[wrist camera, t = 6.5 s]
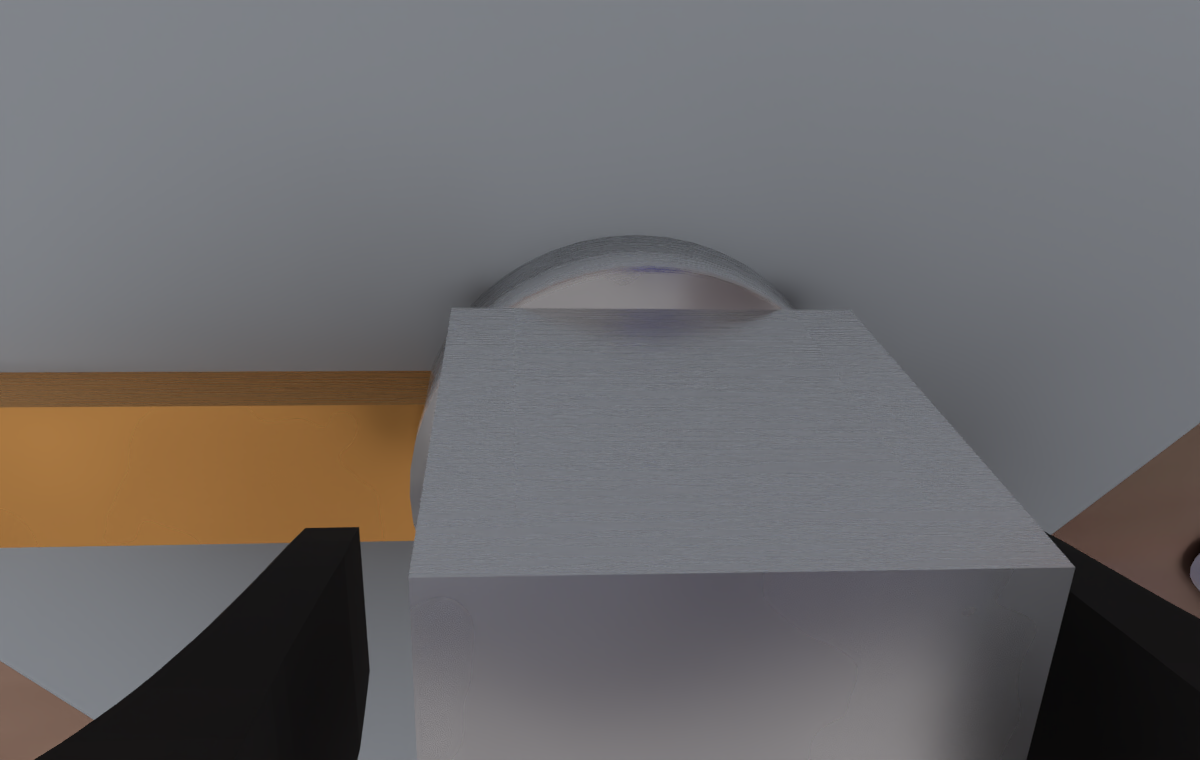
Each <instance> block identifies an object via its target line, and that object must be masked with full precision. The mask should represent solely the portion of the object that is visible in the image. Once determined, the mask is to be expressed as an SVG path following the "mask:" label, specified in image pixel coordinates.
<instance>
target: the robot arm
mask: <svg viewBox="0 0 1200 760" xmlns="http://www.w3.org/2000/svg"><path fill="white" fill-rule="evenodd" d="M1044 532H1045V531H1044ZM1045 533H1046V534H1047V535H1048V537H1049V538H1050V539H1051V540H1052V541H1053V542H1054V543H1055V545H1056V546H1057V547H1058V548H1059V549H1060V550H1061V551H1062V553H1063V554H1064V555H1065V556H1066V557H1067V558H1068V560H1069V561H1070V562H1071V563H1072V564H1073V565H1074V566H1075V571H1074V575H1073V579H1072V583H1071V587H1070V591H1069V594H1068V598H1067V602H1066V606H1065V610H1064V614H1063V618H1062V622H1061V626H1060V630H1059V634H1058V638H1057V642H1056V646H1055V650H1054V653H1053V657H1052V661H1051V665H1050V669H1049V673H1048V677H1047V681H1046V685H1045V689H1044V693H1043V697H1042V701H1041V705H1040V709H1039V712H1038V716H1037V720H1036V724H1035V728H1034V732H1033V736H1032V740H1031V744H1030V748H1029V752H1028V756H1027V760H1200V619H1199V618H1197V617H1195V616H1193V615H1192V614H1190V613H1188V612H1186V611H1184V610H1182V609H1181V608H1179V607H1177V606H1175V605H1173V604H1172V603H1170V602H1168V601H1166V600H1164V599H1163V598H1161V597H1159V596H1157V595H1155V594H1154V593H1152V592H1150V591H1148V590H1147V589H1145V588H1143V587H1141V586H1140V585H1138V584H1136V583H1134V582H1133V581H1131V580H1129V579H1127V578H1126V577H1124V576H1122V575H1121V574H1119V573H1117V572H1115V571H1114V570H1112V569H1110V568H1108V567H1107V566H1105V565H1103V564H1101V563H1100V562H1098V561H1096V560H1095V559H1093V558H1091V557H1089V556H1088V555H1086V554H1084V553H1082V552H1081V551H1079V550H1077V549H1075V548H1074V547H1072V546H1070V545H1068V544H1067V543H1065V542H1063V541H1061V540H1059V539H1058V538H1056V537H1054V536H1052V535H1050V534H1048V533H1047V532H1045ZM1190 577H1191V580H1192V582H1193V584H1194V585H1195V586H1196V587H1197V589H1198V590H1199V591H1200V554H1199V555H1198V556H1197V557H1196V558H1195V560H1194V562H1193V564H1192V566H1191V569H1190ZM369 674H370V666H369V653H368V639H367V626H366V613H365V599H364V586H363V572H362V559H361V545H360V532H359V527H329V528H305V529H304V530H303V531H302V532H301V533H300V534H299V535H297V536H296V537H295V538H294V539H293V540H292V541H291V542H290V543H289V544H288V545H287V546H286V548H285V549H284V550H283V551H282V552H281V553H280V554H279V555H278V556H277V557H276V558H275V559H274V560H273V561H272V562H271V563H270V564H269V565H268V566H267V567H266V569H265V570H264V571H263V572H262V573H261V574H260V575H259V576H258V577H257V578H256V579H255V580H254V581H253V582H252V583H251V584H250V585H249V586H248V587H247V588H246V589H245V590H244V591H243V592H242V593H241V594H240V595H239V596H238V597H237V598H236V599H235V600H234V601H233V602H232V603H231V604H230V605H229V606H228V607H227V608H226V609H225V610H224V611H223V612H222V613H221V614H220V615H219V616H218V617H217V618H216V619H215V620H214V621H213V622H212V623H211V624H210V625H209V626H208V627H207V628H206V629H204V630H203V631H202V632H201V633H200V634H199V635H198V636H197V637H196V638H195V639H194V640H193V641H191V642H190V643H189V644H188V645H187V646H186V647H185V648H183V649H182V650H181V651H180V652H179V653H178V654H177V655H175V656H174V657H173V658H172V659H171V660H170V661H169V662H167V663H166V664H165V665H164V666H163V667H162V668H161V669H160V670H158V671H157V672H156V673H155V674H154V675H153V676H151V677H150V678H149V679H148V680H146V681H145V682H144V683H143V684H141V685H140V686H139V687H138V688H136V689H135V690H134V691H133V692H131V693H130V694H129V695H127V696H126V697H125V698H123V699H122V700H121V701H120V702H118V703H117V704H116V705H114V706H113V707H111V708H110V709H109V710H107V711H106V712H104V713H103V714H102V715H100V716H99V717H98V718H96V719H95V720H93V721H92V722H91V723H89V724H88V725H86V726H85V727H84V728H82V729H81V730H79V731H78V732H77V733H75V734H74V735H72V736H71V737H69V738H68V739H66V740H65V741H63V742H62V743H60V744H59V745H57V746H56V747H54V748H52V749H51V750H49V751H47V752H46V753H44V754H43V755H41V756H39V757H38V758H36V759H35V760H358V756H359V751H360V746H361V738H362V731H363V723H364V716H365V708H366V699H367V691H368V682H369Z"/></svg>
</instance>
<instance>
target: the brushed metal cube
mask: <svg viewBox="0 0 1200 760" xmlns="http://www.w3.org/2000/svg"><path fill="white" fill-rule="evenodd" d="M1074 571H1075V566H1074V565H1073V564H1072V563H1071V562H1070V561H1069V560H1068V558H1067V557H1066V556H1065V555H1064V554H1063V553H1062V551H1061V550H1060V549H1059V548H1058V547H1057V546H1056V545H1055V543H1054V542H1053V541H1052V540H1051V539H1050V538H1049V537H1048V535H1047V534H1046V533H1045V532H1044V531H1043V530H1042V529H1041V527H1040V526H1039V525H1038V524H1037V523H1036V522H1035V521H1034V519H1033V518H1032V517H1031V516H1030V515H1029V514H1028V513H1027V511H1026V510H1025V509H1024V508H1023V507H1022V506H1021V505H1020V503H1019V502H1018V501H1017V500H1016V499H1015V498H1014V497H1013V495H1012V494H1011V493H1010V492H1009V491H1008V490H1007V489H1006V487H1005V486H1004V485H1003V484H1002V483H1001V482H1000V481H999V479H998V478H997V477H996V476H995V475H994V474H993V473H992V471H991V470H990V469H989V468H988V467H987V466H986V464H985V463H984V462H983V461H982V460H981V459H980V458H979V456H978V455H977V454H976V453H975V452H974V451H973V450H972V448H971V447H970V446H969V445H968V444H967V443H966V442H965V440H964V439H963V438H962V437H961V436H960V435H959V434H958V432H957V431H956V430H955V429H954V428H953V427H952V426H951V424H950V423H949V422H948V421H947V420H946V419H945V418H944V416H943V415H942V414H941V413H940V412H939V411H938V410H937V408H936V407H935V406H934V405H933V404H932V403H931V402H930V400H929V399H928V398H927V397H926V396H925V395H924V394H923V392H922V391H921V390H920V389H919V388H918V387H917V385H916V384H915V383H914V382H913V381H912V380H911V379H910V377H909V376H908V375H907V374H906V373H905V372H904V371H903V369H902V368H901V367H900V366H899V365H898V364H897V363H896V361H895V360H894V359H893V358H892V357H891V356H890V355H889V353H888V352H887V351H886V350H885V349H884V348H883V347H882V345H881V344H880V343H879V342H878V341H877V340H876V339H875V337H874V336H873V335H872V334H871V333H870V332H869V331H868V329H867V328H866V327H865V326H864V325H863V324H862V323H861V321H860V320H859V319H858V318H857V317H856V316H855V315H854V313H853V312H852V311H851V310H769V309H593V308H451V314H450V321H449V327H448V333H447V339H446V346H445V352H444V358H443V364H442V371H441V377H440V383H439V389H438V396H437V402H436V408H435V414H434V421H433V427H432V433H431V439H430V446H429V452H428V458H427V464H426V471H425V477H424V483H423V489H422V496H421V502H420V508H419V514H418V521H417V527H416V533H415V539H414V546H413V552H412V558H411V564H410V571H409V577H408V581H409V602H410V623H411V644H412V665H413V686H414V707H415V728H416V749H417V760H1027V756H1028V752H1029V748H1030V744H1031V740H1032V736H1033V732H1034V728H1035V724H1036V720H1037V716H1038V712H1039V709H1040V705H1041V701H1042V697H1043V693H1044V689H1045V685H1046V681H1047V677H1048V673H1049V669H1050V665H1051V661H1052V657H1053V653H1054V650H1055V646H1056V642H1057V638H1058V634H1059V630H1060V626H1061V622H1062V618H1063V614H1064V610H1065V606H1066V602H1067V598H1068V594H1069V591H1070V587H1071V583H1072V579H1073V575H1074Z"/></svg>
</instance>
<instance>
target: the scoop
mask: <svg viewBox="0 0 1200 760" xmlns="http://www.w3.org/2000/svg"><path fill="white" fill-rule="evenodd" d="M470 308H593V309H769V310H796V309H795V308H794V307H793V306H792V304H791V303H790V302H789V301H788V299H787V298H786V297H785V296H784V295H783V294H782V293H781V292H780V291H778V290H777V289H776V288H775V287H774V286H773V285H772V284H771V283H770V282H769V281H768V280H767V279H765V278H764V277H762V276H761V275H759V274H758V273H757V272H755V271H754V270H752V269H751V268H749V267H748V266H747V265H745V264H743V263H741V262H739V261H737V260H735V259H733V258H731V257H729V256H727V255H725V254H723V253H722V252H719V251H716V250H713V249H711V248H708V247H705V246H702V245H699V244H696V243H693V242H688V241H683V240H678V239H673V238H668V237H658V236H644V235H628V236H611V237H604V238H598V239H593V240H587V241H582V242H578V243H575V244H572V245H568V246H565V247H562V248H559V249H556V250H553V251H550V252H548V253H546V254H544V255H542V256H540V257H538V258H535V259H533V260H531V261H529V262H527V263H525V264H523V265H522V266H520V267H519V268H517V269H515V270H514V271H512V272H511V273H509V274H508V275H506V276H504V277H503V278H501V279H500V280H499V281H498V282H496V283H495V284H494V285H493V286H492V287H490V288H489V289H488V290H487V291H486V292H485V293H483V294H482V295H481V296H480V297H479V298H478V299H477V300H476V301H475V302H474V303H473V304H472V305H471V307H470ZM446 339H447V338H446ZM446 339H445V341H444V343H443V345H442V347H441V349H440V351H439V353H438V355H437V357H436V359H435V361H434V364H433V367H432V370H431V371H240V372H0V548H25V547H83V546H142V545H200V544H259V543H290V542H291V541H292V540H293V539H294V538H295V537H296V536H297V535H299V534H300V533H301V532H302V531H303V530H304V529H305V528H329V527H359V532H360V542H375V541H414V539H415V533H416V527H417V521H418V514H419V508H420V502H421V496H422V489H423V483H424V477H425V471H426V464H427V458H428V452H429V446H430V439H431V433H432V427H433V421H434V414H435V408H436V402H437V396H438V389H439V383H440V377H441V371H442V364H443V358H444V352H445V346H446Z"/></svg>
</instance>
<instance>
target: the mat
mask: <svg viewBox="0 0 1200 760" xmlns="http://www.w3.org/2000/svg"><path fill="white" fill-rule="evenodd" d="M628 235H644V236H658V237H668V238H673V239H678V240H683V241H688V242H693V243H696V244H699V245H702V246H705V247H708V248H711V249H713V250H716V251H719V252H722V253H723V254H725V255H727V256H729V257H731V258H733V259H735V260H737V261H739V262H741V263H743V264H745V265H747V266H748V267H749V268H751V269H752V270H754V271H755V272H757V273H758V274H759V275H761V276H762V277H764V278H765V279H767V280H768V281H769V282H770V283H771V284H772V285H773V286H774V287H775V288H776V289H777V290H778V291H780V292H781V293H782V294H783V295H784V296H785V297H786V298H787V299H788V301H789V302H790V303H791V304H792V306H793V307H794V308H795V309H796V310H851V311H852V312H853V313H854V315H855V316H856V317H857V318H858V319H859V320H860V321H861V323H862V324H863V325H864V326H865V327H866V328H867V329H868V331H869V332H870V333H871V334H872V335H873V336H874V337H875V339H876V340H877V341H878V342H879V343H880V344H881V345H882V347H883V348H884V349H885V350H886V351H887V352H888V353H889V355H890V356H891V357H892V358H893V359H894V360H895V361H896V363H897V364H898V365H899V366H900V367H901V368H902V369H903V371H904V372H905V373H906V374H907V375H908V376H909V377H910V379H911V380H912V381H913V382H914V383H915V384H916V385H917V387H918V388H919V389H920V390H921V391H922V392H923V394H924V395H925V396H926V397H927V398H928V399H929V400H930V402H931V403H932V404H933V405H934V406H935V407H936V408H937V410H938V411H939V412H940V413H941V414H942V415H943V416H944V418H945V419H946V420H947V421H948V422H949V423H950V424H951V426H952V427H953V428H954V429H955V430H956V431H957V432H958V434H959V435H960V436H961V437H962V438H963V439H964V440H965V442H966V443H967V444H968V445H969V446H970V447H971V448H972V450H973V451H974V452H975V453H976V454H977V455H978V456H979V458H980V459H981V460H982V461H983V462H984V463H985V464H986V466H987V467H988V468H989V469H990V470H991V471H992V473H993V474H994V475H995V476H996V477H997V478H998V479H999V481H1000V482H1001V483H1002V484H1003V485H1004V486H1005V487H1006V489H1007V490H1008V491H1009V492H1010V493H1011V494H1012V495H1013V497H1014V498H1015V499H1016V500H1017V501H1018V502H1019V503H1020V505H1021V506H1022V507H1023V508H1024V509H1025V510H1026V511H1027V513H1028V514H1029V515H1030V516H1031V517H1032V518H1033V519H1034V521H1035V522H1036V523H1037V524H1038V525H1039V526H1040V527H1041V529H1042V530H1043V531H1045V532H1047V533H1048V534H1050V535H1051V534H1053V533H1054V532H1055V531H1057V530H1058V529H1059V528H1061V527H1062V526H1063V525H1065V524H1066V523H1067V522H1069V521H1070V520H1071V519H1073V518H1074V517H1075V516H1077V515H1078V514H1079V513H1081V512H1082V511H1083V510H1085V509H1086V508H1087V507H1089V506H1090V505H1091V504H1093V503H1094V502H1095V501H1097V500H1098V499H1099V498H1101V497H1102V496H1103V495H1105V494H1106V493H1107V492H1109V491H1110V490H1111V489H1113V488H1114V487H1115V486H1117V485H1118V484H1119V483H1121V482H1122V481H1123V480H1125V479H1126V478H1127V477H1129V476H1130V475H1131V474H1133V473H1134V472H1135V471H1137V470H1138V469H1139V468H1141V467H1142V466H1143V465H1145V464H1146V463H1147V462H1149V461H1150V460H1151V459H1152V458H1154V457H1155V456H1156V455H1158V454H1159V453H1160V452H1162V451H1163V450H1164V449H1166V448H1167V447H1168V446H1170V445H1171V444H1172V443H1174V442H1175V441H1176V440H1178V439H1179V438H1180V437H1182V436H1183V435H1184V434H1186V433H1187V432H1188V431H1190V430H1191V429H1192V428H1194V427H1195V426H1196V425H1198V424H1199V423H1200V0H0V372H240V371H431V370H432V367H433V364H434V361H435V359H436V357H437V355H438V353H439V351H440V349H441V347H442V345H443V343H444V341H445V339H446V338H447V333H448V327H449V321H450V314H451V308H470V307H471V305H472V304H473V303H474V302H475V301H476V300H477V299H478V298H479V297H480V296H481V295H482V294H483V293H485V292H486V291H487V290H488V289H489V288H490V287H492V286H493V285H494V284H495V283H496V282H498V281H499V280H500V279H501V278H503V277H504V276H506V275H508V274H509V273H511V272H512V271H514V270H515V269H517V268H519V267H520V266H522V265H523V264H525V263H527V262H529V261H531V260H533V259H535V258H538V257H540V256H542V255H544V254H546V253H548V252H550V251H553V250H556V249H559V248H562V247H565V246H568V245H572V244H575V243H578V242H582V241H587V240H593V239H598V238H604V237H611V236H628ZM288 544H289V543H259V544H200V545H142V546H83V547H25V548H0V661H1V662H3V663H5V664H6V665H8V666H9V667H11V668H12V669H14V670H16V671H17V672H19V673H20V674H22V675H24V676H25V677H27V678H28V679H30V680H32V681H33V682H35V683H36V684H38V685H40V686H41V687H43V688H44V689H46V690H47V691H49V692H51V693H52V694H54V695H55V696H57V697H59V698H60V699H62V700H63V701H65V702H67V703H68V704H70V705H71V706H73V707H74V708H76V709H78V710H79V711H81V712H82V713H84V714H86V715H87V716H89V717H90V718H92V719H94V720H95V719H96V718H98V717H99V716H100V715H102V714H103V713H104V712H106V711H107V710H109V709H110V708H111V707H113V706H114V705H116V704H117V703H118V702H120V701H121V700H122V699H123V698H125V697H126V696H127V695H129V694H130V693H131V692H133V691H134V690H135V689H136V688H138V687H139V686H140V685H141V684H143V683H144V682H145V681H146V680H148V679H149V678H150V677H151V676H153V675H154V674H155V673H156V672H157V671H158V670H160V669H161V668H162V667H163V666H164V665H165V664H166V663H167V662H169V661H170V660H171V659H172V658H173V657H174V656H175V655H177V654H178V653H179V652H180V651H181V650H182V649H183V648H185V647H186V646H187V645H188V644H189V643H190V642H191V641H193V640H194V639H195V638H196V637H197V636H198V635H199V634H200V633H201V632H202V631H203V630H204V629H206V628H207V627H208V626H209V625H210V624H211V623H212V622H213V621H214V620H215V619H216V618H217V617H218V616H219V615H220V614H221V613H222V612H223V611H224V610H225V609H226V608H227V607H228V606H229V605H230V604H231V603H232V602H233V601H234V600H235V599H236V598H237V597H238V596H239V595H240V594H241V593H242V592H243V591H244V590H245V589H246V588H247V587H248V586H249V585H250V584H251V583H252V582H253V581H254V580H255V579H256V578H257V577H258V576H259V575H260V574H261V573H262V572H263V571H264V570H265V569H266V567H267V566H268V565H269V564H270V563H271V562H272V561H273V560H274V559H275V558H276V557H277V556H278V555H279V554H280V553H281V552H282V551H283V550H284V549H285V548H286V546H287V545H288ZM360 545H361V559H362V572H363V586H364V599H365V613H366V626H367V639H368V653H369V666H370V674H369V682H368V691H367V699H366V708H365V716H364V723H363V731H362V738H361V746H360V751H359V756H358V760H417V749H416V728H415V707H414V686H413V665H412V644H411V623H410V602H409V581H408V577H409V571H410V564H411V558H412V552H413V546H414V541H375V542H360Z"/></svg>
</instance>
